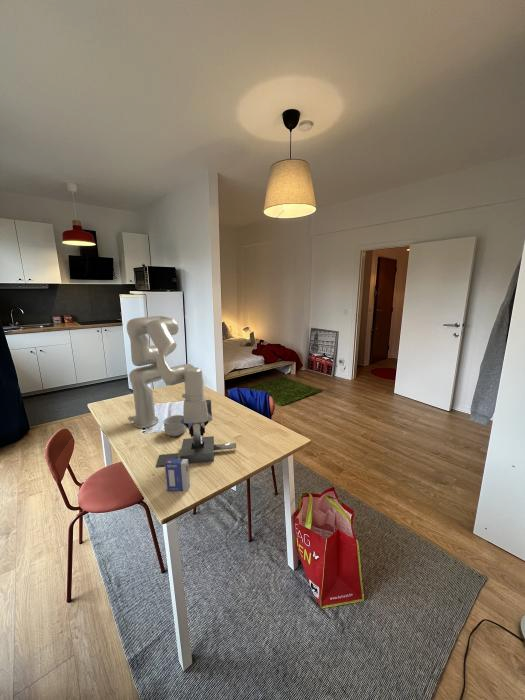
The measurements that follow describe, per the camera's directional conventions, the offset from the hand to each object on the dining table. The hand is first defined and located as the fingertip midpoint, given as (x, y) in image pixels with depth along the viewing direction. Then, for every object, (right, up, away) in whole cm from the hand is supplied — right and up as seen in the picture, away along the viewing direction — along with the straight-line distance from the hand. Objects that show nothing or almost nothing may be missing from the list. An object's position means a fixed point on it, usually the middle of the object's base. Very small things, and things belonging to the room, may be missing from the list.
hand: (197, 434), depth 127 cm
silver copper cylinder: (0, -4, +1) cm, 4 cm away
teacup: (-14, -5, +21) cm, 26 cm away
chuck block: (+5, -9, +3) cm, 11 cm away
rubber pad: (-12, -10, -3) cm, 16 cm away
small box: (-6, -2, +36) cm, 36 cm away
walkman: (-2, -15, -20) cm, 25 cm away
